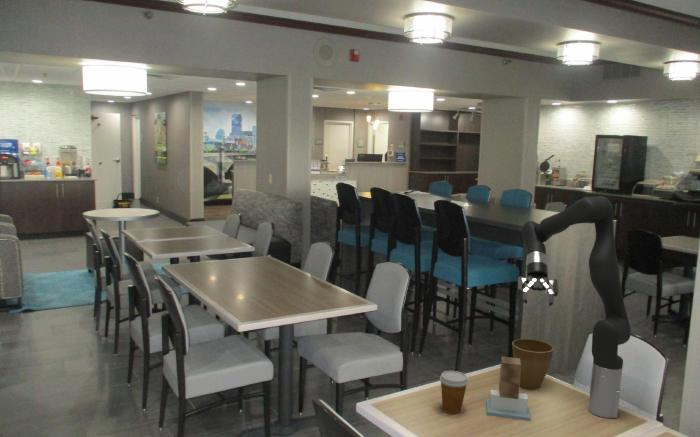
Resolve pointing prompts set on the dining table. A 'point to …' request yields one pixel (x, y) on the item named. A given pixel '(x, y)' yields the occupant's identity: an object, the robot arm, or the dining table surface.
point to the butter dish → (508, 406)
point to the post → (510, 377)
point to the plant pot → (532, 361)
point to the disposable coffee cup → (453, 390)
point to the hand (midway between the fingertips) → (538, 303)
